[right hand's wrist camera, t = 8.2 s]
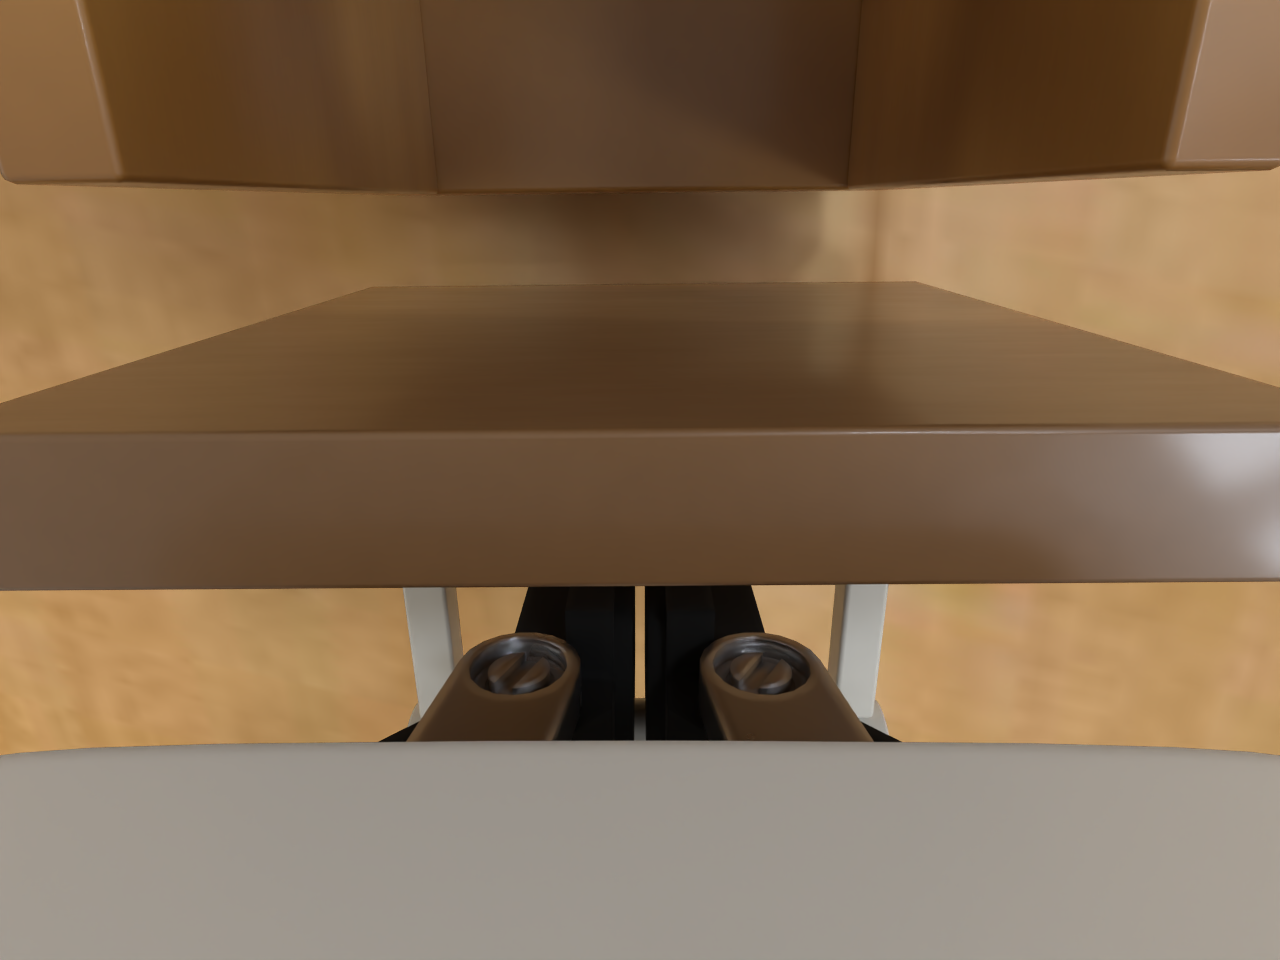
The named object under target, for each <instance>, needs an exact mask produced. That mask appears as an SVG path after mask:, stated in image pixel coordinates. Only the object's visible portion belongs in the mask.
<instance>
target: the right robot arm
mask: <svg viewBox="0 0 1280 960" xmlns="http://www.w3.org/2000/svg"><path fill="white" fill-rule="evenodd" d="M634 716H635V586H570V587H528V590H527V594H526V597H525V600H524V604H523V607H522V611H521V614H520V618H519V621H518V624H517V628H516V631H515V633H513V634H507V635H501V636H498V637H495V638H492V639H489V640H486V641H484V642H482V643H480V644H478V645H477V646H475V647H473V648H472V649H470V650H469V651H468V652H467V653H466V654H465V655H464V656H463V657H462V658H461V659H460V661H459V662H458V664H457V665H456V667H455V668H454V670H453V671H452V673H451V674H450V676H449V677H448V679H447V680H446V682H445V683H444V685H443V686H442V688H441V689H440V691H439V692H438V694H437V696H436V697H435V699H434V700H433V702H432V703H431V705H430V706H429V708H428V709H427V711H426V712H425V714H424V715H423V717H422V718H421V720H420V721H419V722H417V723H415V724H413V725H411V726H409V727H407V728H405V729H403V730H401V731H399V732H397V733H395V734H393V735H391V736H389V737H387V738H385V739H383V740H381V741H379V742H350V743H258V744H200V745H168V746H136V747H103V748H82V749H68V750H54V751H40V752H26V753H15V754H8V755H0V960H1280V755H1271V754H1263V753H1255V752H1243V751H1227V750H1211V749H1195V748H1179V747H1148V746H1111V745H1074V744H1037V743H930V742H901V741H899V740H897V739H895V738H893V737H891V736H889V735H887V734H885V733H883V732H881V731H879V730H877V729H875V728H873V727H871V726H869V725H867V724H865V723H863V722H861V721H860V720H859V718H858V717H857V715H856V714H855V712H854V711H853V709H852V708H851V706H850V705H849V703H848V702H847V700H846V699H845V697H844V696H843V694H842V692H841V691H840V689H839V688H838V686H837V685H836V683H835V682H834V680H833V679H832V677H831V676H830V674H829V673H828V671H827V670H826V668H825V667H824V665H823V664H822V662H821V661H820V659H819V658H818V657H817V656H816V655H815V654H814V653H813V652H812V651H811V650H810V649H808V648H807V647H805V646H803V645H802V644H800V643H798V642H796V641H794V640H791V639H788V638H785V637H782V636H779V635H773V634H767V633H765V631H764V628H763V625H762V621H761V618H760V614H759V611H758V607H757V604H756V601H755V597H754V594H753V590H752V587H751V585H709V586H645V719H646V741H634Z"/></svg>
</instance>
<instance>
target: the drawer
mask: <svg viewBox="0 0 1280 960" xmlns="http://www.w3.org/2000/svg"><path fill="white" fill-rule="evenodd" d="M1278 166H1280V0H0V172H1V174H2V176H3V177H4V179H5V180H7V181H10V182H12V183H15V184H29V185H63V186H98V187H133V188H167V189H202V190H237V191H272V192H306V193H341V194H376V195H488V194H579V193H669V192H759V191H849V190H888V189H911V188H930V187H950V186H969V185H989V184H1008V183H1028V182H1047V181H1067V180H1087V179H1106V178H1126V177H1145V176H1165V175H1184V174H1204V173H1223V172H1243V171H1262V170H1271V169H1274V168H1276V167H1278ZM1263 581H1280V388H1279V387H1275V386H1272V385H1269V384H1265V383H1262V382H1258V381H1255V380H1251V379H1248V378H1245V377H1241V376H1238V375H1234V374H1231V373H1227V372H1224V371H1221V370H1217V369H1214V368H1210V367H1207V366H1203V365H1200V364H1197V363H1193V362H1190V361H1186V360H1183V359H1179V358H1176V357H1173V356H1169V355H1166V354H1162V353H1159V352H1155V351H1152V350H1149V349H1145V348H1142V347H1138V346H1135V345H1131V344H1128V343H1124V342H1121V341H1118V340H1114V339H1111V338H1107V337H1104V336H1100V335H1097V334H1094V333H1090V332H1087V331H1083V330H1080V329H1076V328H1073V327H1070V326H1066V325H1063V324H1059V323H1056V322H1052V321H1049V320H1046V319H1042V318H1039V317H1035V316H1032V315H1028V314H1025V313H1022V312H1018V311H1015V310H1011V309H1008V308H1004V307H1001V306H998V305H994V304H991V303H987V302H984V301H980V300H977V299H974V298H970V297H967V296H963V295H960V294H956V293H953V292H950V291H946V290H943V289H939V288H936V287H932V286H929V285H926V284H922V283H919V282H821V283H723V284H625V285H527V286H428V287H371V288H368V289H364V290H361V291H358V292H355V293H352V294H348V295H345V296H342V297H339V298H336V299H332V300H329V301H326V302H323V303H320V304H316V305H313V306H310V307H307V308H304V309H300V310H297V311H294V312H291V313H288V314H284V315H281V316H278V317H275V318H272V319H269V320H265V321H262V322H259V323H256V324H253V325H249V326H246V327H243V328H240V329H237V330H233V331H230V332H227V333H224V334H221V335H217V336H214V337H211V338H208V339H205V340H201V341H198V342H195V343H192V344H189V345H185V346H182V347H179V348H176V349H173V350H169V351H166V352H163V353H160V354H157V355H154V356H150V357H147V358H144V359H141V360H138V361H134V362H131V363H128V364H125V365H122V366H118V367H115V368H112V369H109V370H106V371H102V372H99V373H96V374H93V375H90V376H86V377H83V378H80V379H77V380H74V381H70V382H67V383H64V384H61V385H58V386H55V387H51V388H48V389H45V390H42V391H39V392H35V393H32V394H29V395H26V396H23V397H19V398H16V399H13V400H10V401H7V402H3V403H0V591H16V590H155V589H293V588H403V593H404V600H405V607H406V615H407V622H408V629H409V637H410V644H411V652H412V659H413V666H414V674H415V681H416V688H417V696H418V703H417V704H416V706H415V708H414V710H413V712H412V714H411V717H410V720H409V723H408V727H409V726H411V725H413V724H415V723H417V722H419V721H420V720H421V718H422V717H423V715H424V714H425V712H426V711H427V709H428V708H429V706H430V705H431V703H432V702H433V700H434V699H435V697H436V696H437V694H438V692H439V691H440V689H441V688H442V686H443V685H444V683H445V682H446V680H447V679H448V677H449V676H450V674H451V673H452V671H453V670H454V668H455V667H456V665H457V664H458V662H459V661H460V659H461V658H462V657H463V648H462V639H461V630H460V620H459V611H458V602H457V593H456V587H570V586H709V585H835V596H834V607H833V618H832V629H831V640H830V651H829V662H828V673H829V674H830V676H831V677H832V679H833V680H834V682H835V683H836V685H837V686H838V688H839V689H840V691H841V692H842V694H843V696H844V697H845V699H846V700H847V702H848V703H849V705H850V706H851V708H852V709H853V711H854V712H855V714H856V715H857V717H858V718H859V720H860V721H861V722H863V723H865V724H867V725H869V726H871V727H873V728H875V729H877V730H879V731H881V732H883V733H885V734H887V735H889V733H888V728H887V724H886V721H885V718H884V715H883V712H882V710H881V707H880V705H879V704H878V702H877V701H876V700H875V694H876V686H877V677H878V669H879V660H880V652H881V643H882V635H883V626H884V618H885V609H886V601H887V592H888V584H986V583H1125V582H1263ZM634 741H646V719H645V698H635V716H634Z"/></svg>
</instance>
